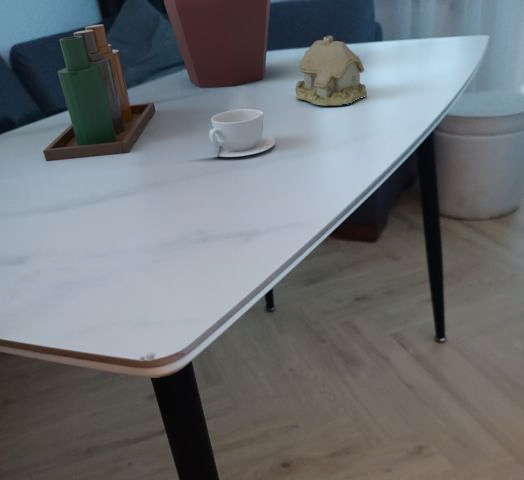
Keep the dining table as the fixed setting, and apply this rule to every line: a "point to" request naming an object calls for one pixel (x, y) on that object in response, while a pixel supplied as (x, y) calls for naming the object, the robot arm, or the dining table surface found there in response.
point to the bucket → (221, 39)
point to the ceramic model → (330, 74)
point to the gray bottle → (104, 77)
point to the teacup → (239, 133)
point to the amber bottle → (114, 69)
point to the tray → (69, 148)
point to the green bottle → (85, 95)
